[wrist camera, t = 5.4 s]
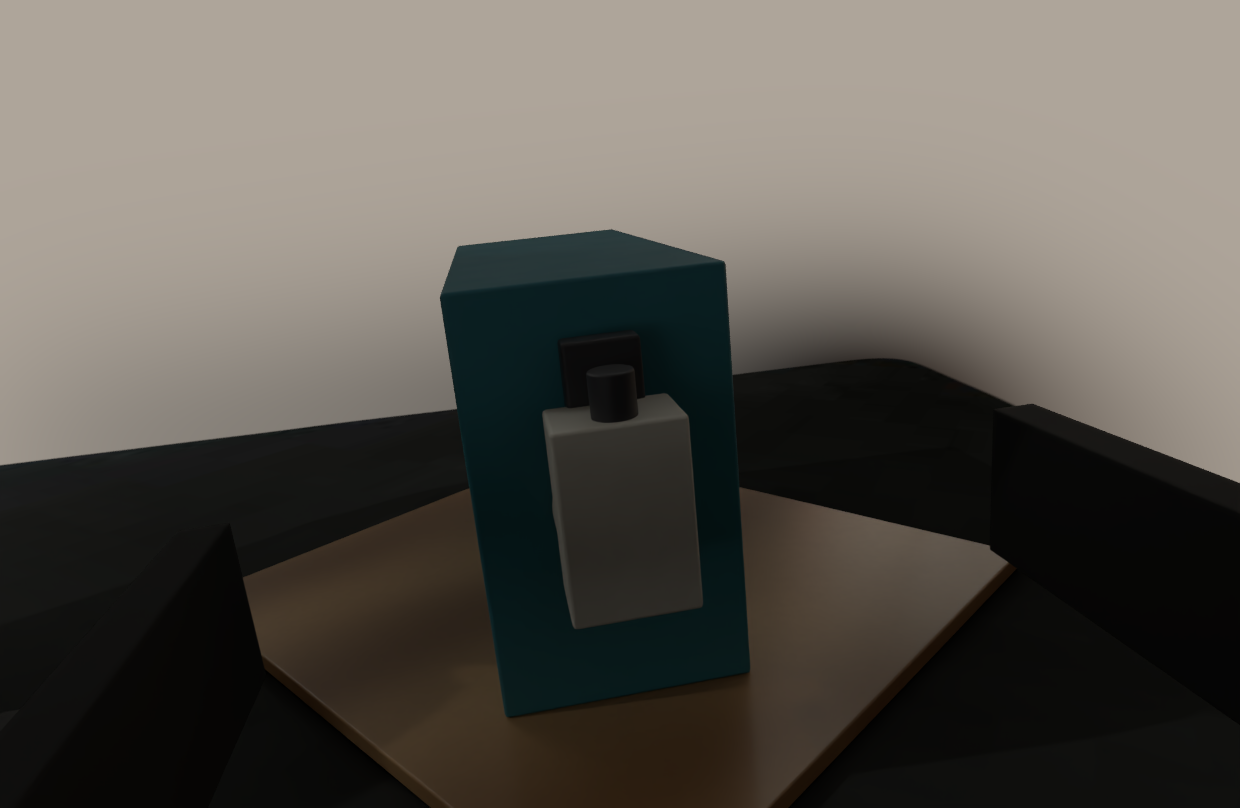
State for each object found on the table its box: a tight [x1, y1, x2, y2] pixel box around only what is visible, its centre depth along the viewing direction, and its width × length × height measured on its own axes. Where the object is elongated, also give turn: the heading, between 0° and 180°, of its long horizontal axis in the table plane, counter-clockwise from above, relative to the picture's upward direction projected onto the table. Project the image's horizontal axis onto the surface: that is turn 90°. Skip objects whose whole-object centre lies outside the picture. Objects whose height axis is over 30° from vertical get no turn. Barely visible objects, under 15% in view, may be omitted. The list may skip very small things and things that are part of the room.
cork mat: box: [243, 487, 1017, 808], centre depth 26 cm, size 20×17×1 cm
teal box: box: [440, 230, 750, 717], centre depth 24 cm, size 18×6×10 cm, turn 10°
